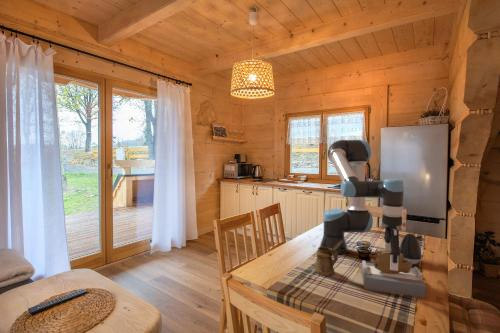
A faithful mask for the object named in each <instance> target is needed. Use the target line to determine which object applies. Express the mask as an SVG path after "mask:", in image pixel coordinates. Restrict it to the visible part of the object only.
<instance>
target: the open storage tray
mask: <svg viewBox="0 0 500 333" xmlns="http://www.w3.org/2000/svg"><path fill="white" fill-rule="evenodd" d="M360 269H361V271H360V273H361V278H362V282H363V287H364V290H368V291H369V290H370V291H377V292H382V291H383V293H389V292H390V294H395V293H399V294H398V295H402V294H405V295H404V296H408V295H412V296H411V297H415V296H417V297H416V298H421V299H422V298H424V299H426V292H427V291H426V288H427V286H426V284H425V282H424V280H423V277H424V275H423V273H422V272H421V270H420V269H419V268H418V266H414V267H411V269H410V270H409V273H403V272H399V273H395V274H389V273H384V272H382V271H380V270H378V269H376V268H375V267H374V263H372V262H366V260H362V261H361V268H360Z"/></svg>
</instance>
